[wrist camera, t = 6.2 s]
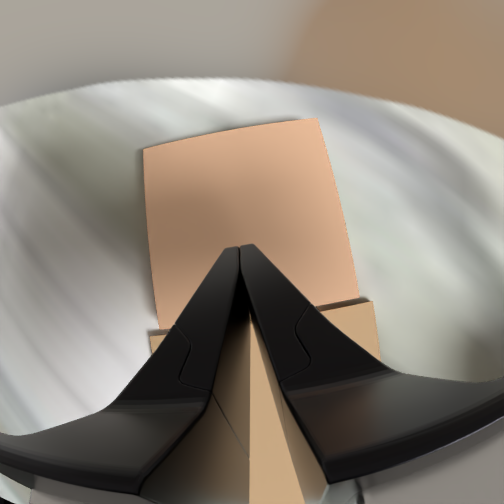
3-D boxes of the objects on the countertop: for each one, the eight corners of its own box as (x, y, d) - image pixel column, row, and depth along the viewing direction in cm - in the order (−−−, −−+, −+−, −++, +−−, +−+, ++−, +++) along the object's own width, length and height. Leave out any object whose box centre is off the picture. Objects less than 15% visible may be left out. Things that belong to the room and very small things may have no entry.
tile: (359, 297, 15) (317, 117, 16) (159, 329, 15) (143, 149, 17) (349, 298, 17) (313, 134, 18) (171, 327, 17) (154, 163, 19)
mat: (385, 483, 14) (387, 486, 14) (195, 511, 14) (193, 514, 14) (370, 301, 16) (372, 301, 16) (152, 335, 16) (149, 336, 16)
